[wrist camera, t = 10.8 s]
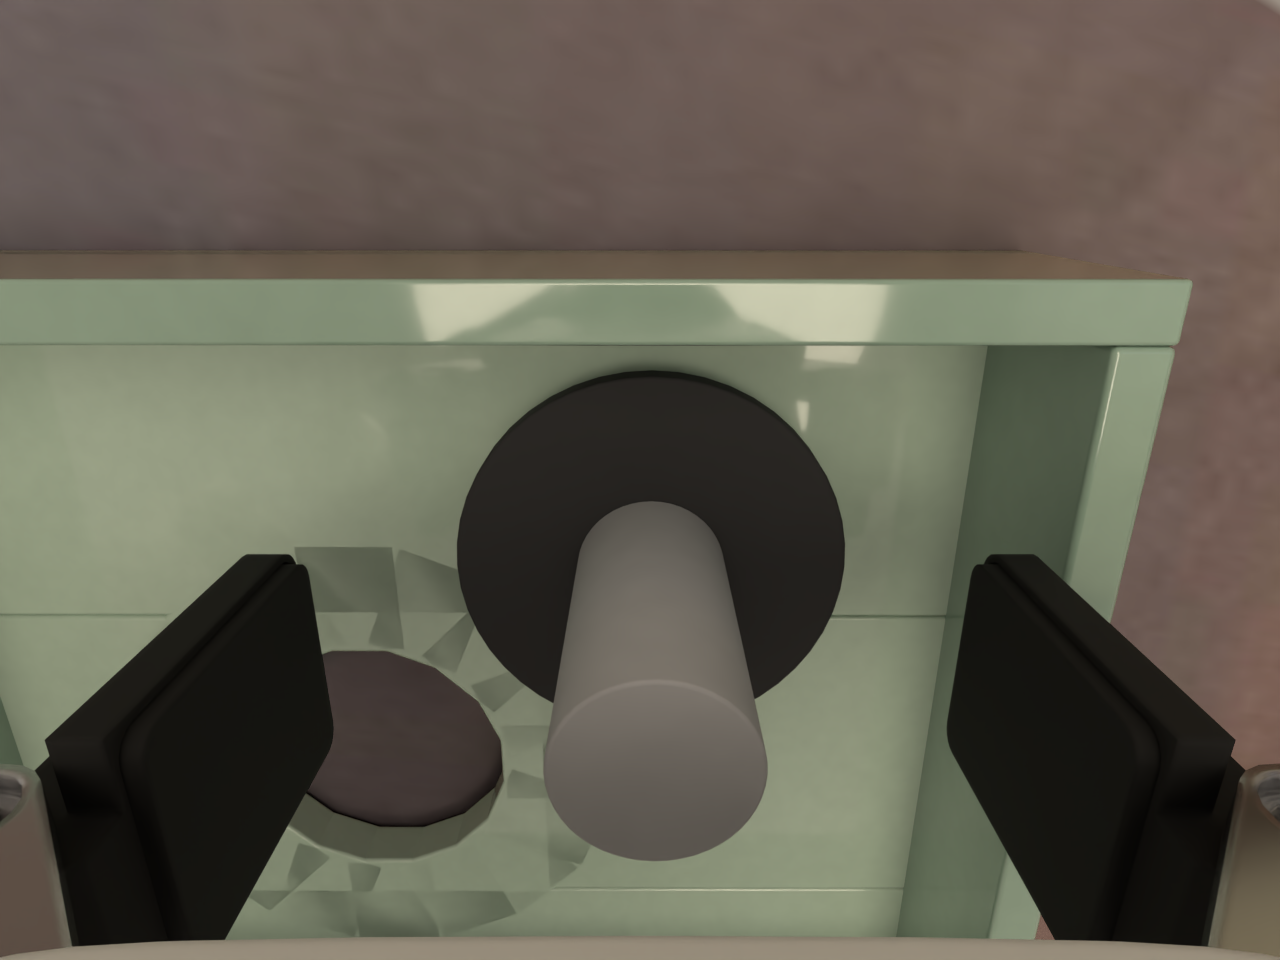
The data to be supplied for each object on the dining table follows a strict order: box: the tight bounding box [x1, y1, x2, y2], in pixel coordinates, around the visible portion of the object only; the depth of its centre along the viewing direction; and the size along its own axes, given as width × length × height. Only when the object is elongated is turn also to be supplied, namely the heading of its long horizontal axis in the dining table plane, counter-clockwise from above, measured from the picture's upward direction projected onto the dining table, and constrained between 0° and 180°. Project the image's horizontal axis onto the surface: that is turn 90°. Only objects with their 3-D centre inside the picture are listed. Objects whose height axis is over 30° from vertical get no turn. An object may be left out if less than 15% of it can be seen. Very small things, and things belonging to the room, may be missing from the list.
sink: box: [0, 250, 1193, 940], centre depth 14 cm, size 16×20×4 cm
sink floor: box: [0, 250, 1038, 940], centre depth 16 cm, size 16×20×1 cm
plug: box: [457, 370, 845, 861], centre depth 11 cm, size 6×6×6 cm
